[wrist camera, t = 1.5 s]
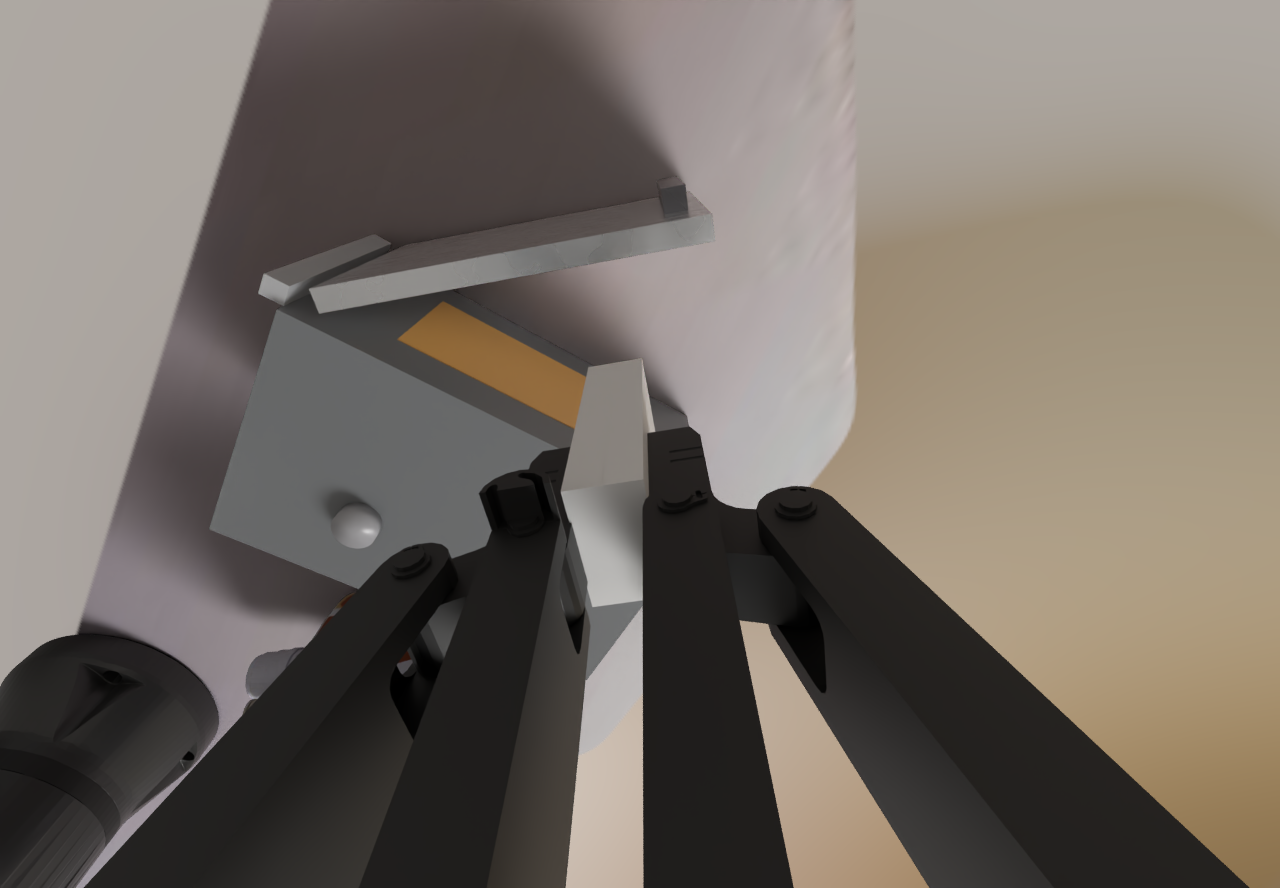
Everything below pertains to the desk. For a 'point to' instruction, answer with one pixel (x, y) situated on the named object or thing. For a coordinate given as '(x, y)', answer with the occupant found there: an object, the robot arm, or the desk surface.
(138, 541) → the desk surface
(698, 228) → the side door
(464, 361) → the grey cabinet with knob
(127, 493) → the desk surface
